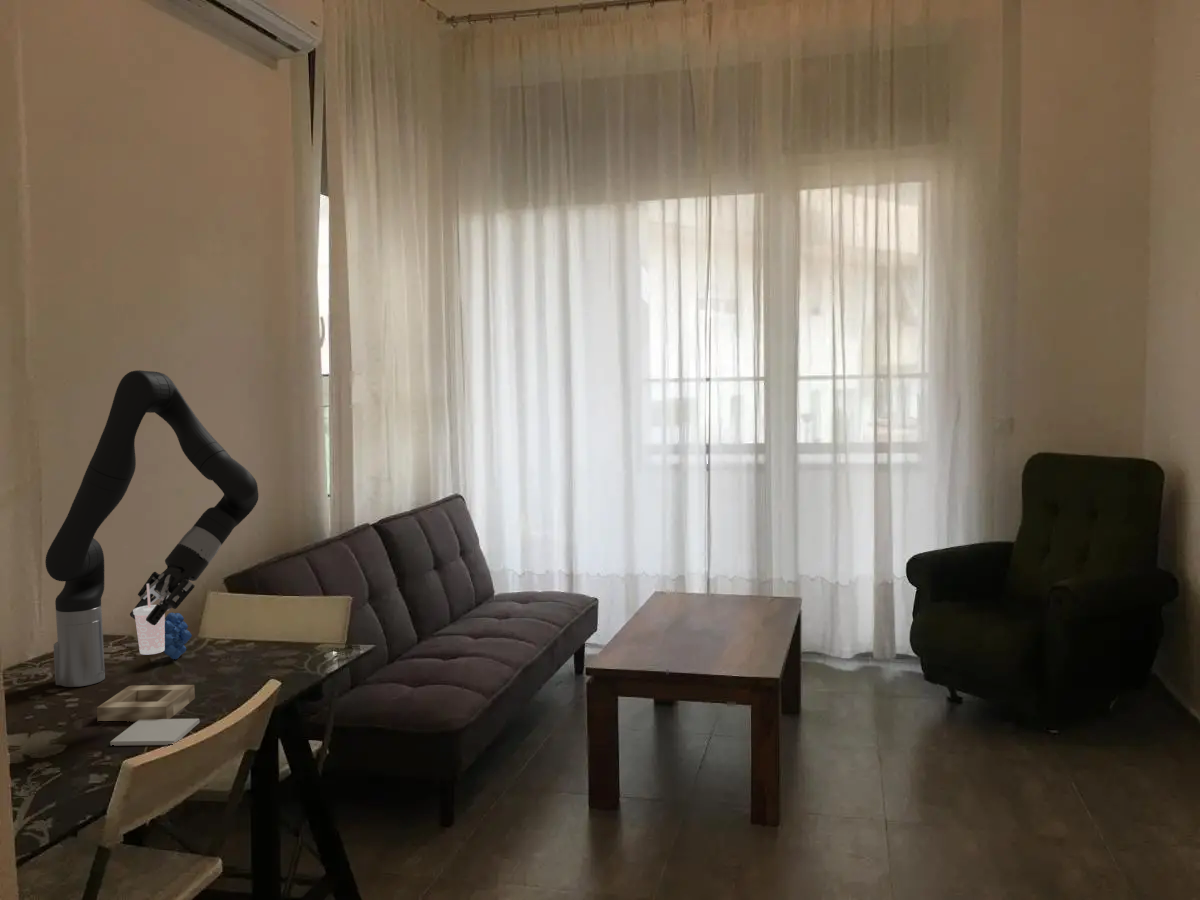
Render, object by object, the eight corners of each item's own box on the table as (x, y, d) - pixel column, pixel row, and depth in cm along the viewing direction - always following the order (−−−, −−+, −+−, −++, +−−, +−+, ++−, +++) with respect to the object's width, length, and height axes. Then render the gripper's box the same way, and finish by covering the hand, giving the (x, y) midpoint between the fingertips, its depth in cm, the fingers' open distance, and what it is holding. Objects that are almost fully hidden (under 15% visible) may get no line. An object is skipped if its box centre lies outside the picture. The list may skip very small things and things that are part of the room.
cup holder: (97, 721, 200) (96, 707, 200) (130, 699, 214) (129, 685, 214) (166, 721, 200) (166, 706, 200) (194, 698, 214) (194, 684, 214)
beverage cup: (128, 654, 200) (124, 586, 199) (152, 646, 205) (147, 579, 204) (152, 656, 198) (147, 587, 197) (175, 648, 203) (171, 581, 202)
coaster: (110, 745, 187) (110, 741, 187) (139, 723, 199) (139, 719, 199) (174, 744, 187) (173, 740, 187) (199, 722, 199) (199, 718, 199)
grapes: (182, 666, 238) (180, 617, 237) (154, 666, 238) (152, 617, 237) (202, 652, 249) (200, 605, 249) (176, 652, 250) (174, 605, 249)
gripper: (163, 539, 210) (110, 605, 202) (199, 545, 201) (145, 615, 193) (188, 560, 215) (138, 625, 206) (224, 567, 206) (173, 635, 197)
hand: (141, 620), depth 200 cm, fingers closed on beverage cup, 6 cm apart
